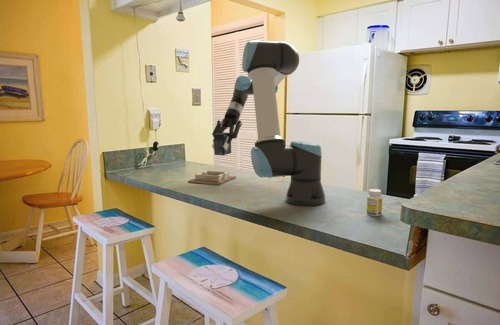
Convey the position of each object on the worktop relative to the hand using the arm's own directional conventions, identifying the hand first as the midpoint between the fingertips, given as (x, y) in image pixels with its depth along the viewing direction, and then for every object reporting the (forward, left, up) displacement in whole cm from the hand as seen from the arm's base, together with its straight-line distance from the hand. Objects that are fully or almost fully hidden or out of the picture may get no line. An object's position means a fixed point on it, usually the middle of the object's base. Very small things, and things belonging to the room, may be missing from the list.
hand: (219, 148), depth 162 cm
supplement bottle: (-24, -73, -18) cm, 79 cm away
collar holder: (+4, +7, -17) cm, 19 cm away
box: (+4, 0, -4) cm, 5 cm away
